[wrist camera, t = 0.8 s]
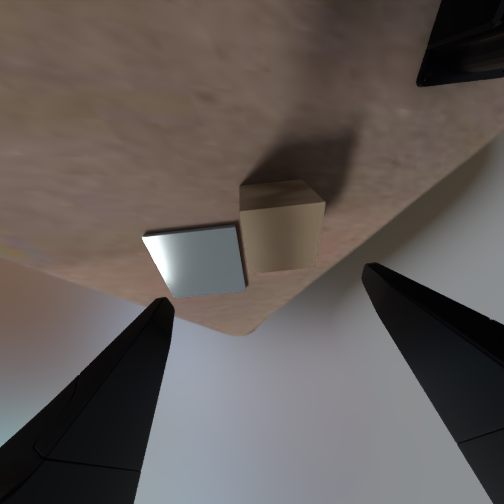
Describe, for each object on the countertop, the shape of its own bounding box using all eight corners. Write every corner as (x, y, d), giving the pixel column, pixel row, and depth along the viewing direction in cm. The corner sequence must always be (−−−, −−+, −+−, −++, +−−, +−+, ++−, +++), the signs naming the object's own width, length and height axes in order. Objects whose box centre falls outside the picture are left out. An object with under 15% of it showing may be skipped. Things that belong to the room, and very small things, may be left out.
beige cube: (301, 178, 18) (325, 202, 13) (298, 232, 21) (315, 267, 16) (239, 185, 18) (239, 211, 13) (246, 238, 21) (248, 274, 16)
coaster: (235, 224, 20) (235, 226, 19) (245, 287, 26) (245, 290, 25) (144, 234, 20) (141, 237, 20) (175, 295, 26) (174, 298, 26)
